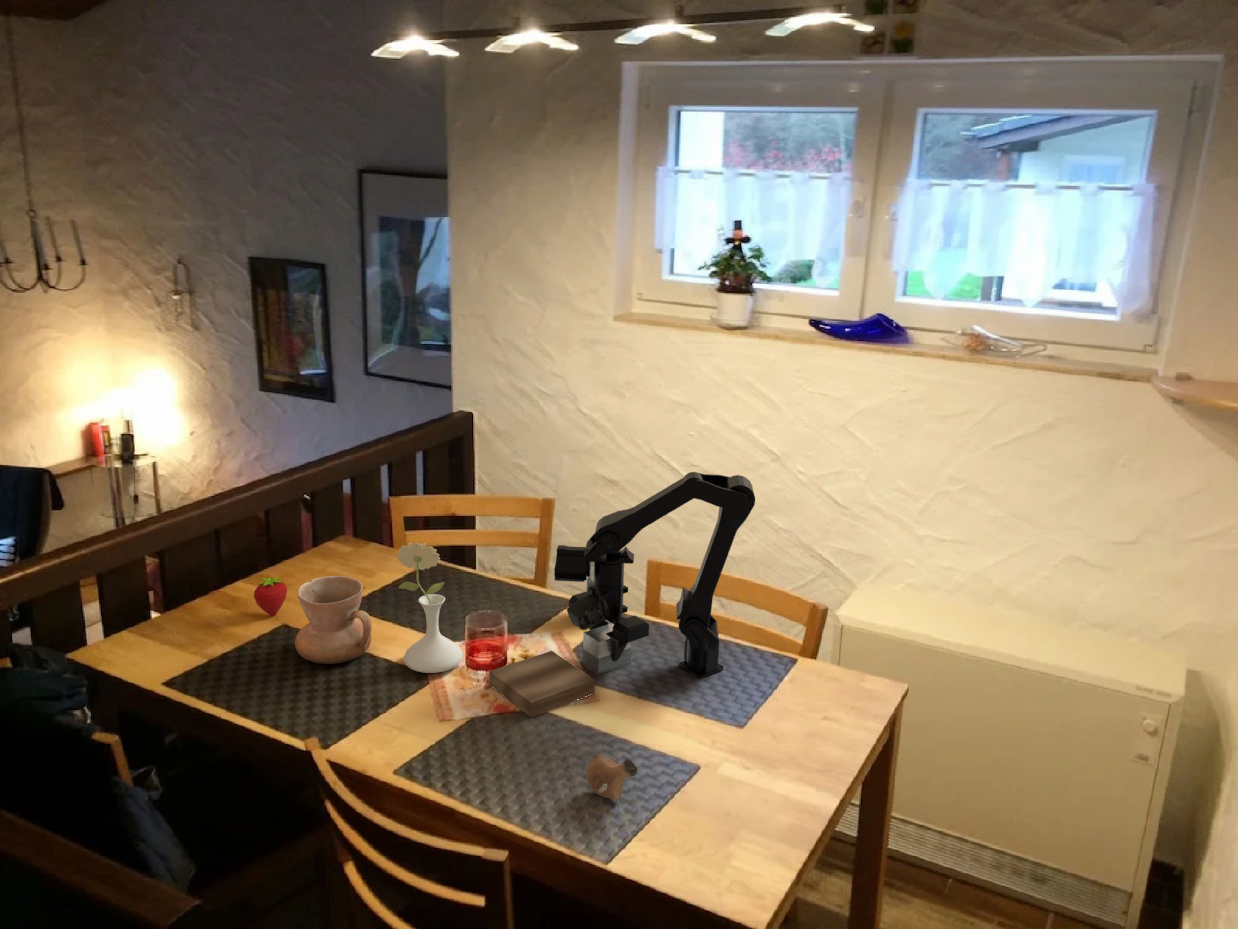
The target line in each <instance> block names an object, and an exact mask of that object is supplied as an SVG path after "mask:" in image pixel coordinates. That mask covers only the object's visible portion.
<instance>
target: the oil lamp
mask: <svg viewBox="0 0 1238 929" xmlns="http://www.w3.org/2000/svg"><path fill="white" fill-rule="evenodd" d="M591 758H592V759H591V761H590V762H589V764H588V766H587V770H586V779H587V783H588V785H589V787H590V788H591V790H592V791H593V792H594V793H595V794H597V795H598V796H599V797H602V798H607V799H610V800H615V801H619V800H621V798H622V794H623V793H622V792H623V789H624V785H625V784H624V782H625V780H626V778H629V777H635V776H636V775H637V774H638V768H637V765H635V763H633V761H632V760H631V759H630V758H626V759H625V760H624V761H622V762H620V763H616V762H615V761H614V760H612V759H611V758H609V757H606V756H603V755H602V754H601V753H598V752H596V753H594V754H593V755H592V757H591Z"/></svg>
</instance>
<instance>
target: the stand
mask: <svg viewBox="0 0 1238 929" xmlns="http://www.w3.org/2000/svg"><path fill="white" fill-rule="evenodd" d="M595 681H596V680H595V679H594V678H593V677H591V676H590V675H588V674H587V673H586V672H584V671H582V670H581V669H579V668H578V667H577V666H575V665H573V664H572V663H571V662H569V660H566V659H565V658H563V657H562V656H560V655H559V654H557V653H556V652H554V651H553V650H550V651H547V652H546V651H545V653H544V652H543V653H540V654H537V655H535V656H531V657H527V658H525V659H522V660H518V661H517V662H513V663H510V664H507V665H505V666H501V667H497V668H495V669H491V670H489V686H490V685H491V686H492V687H494V688H495V689H496V690H497V691H496V690H495V689H494V688H493V689H494V690H495V691H496V692H497V693H499V694H500V693H501V694H502V696H503V697H504V698H505V699H506V700H508V702H509V701H511V703H512V704H513V705H514V706H516V707H517V708H518V709H519V710H521V711H522V712H523V713H524V714H525V715H527V716H529V718H534V717H537V716H539V715H543V714H544V713H545V714H546V713H547V712H551V711H553V710H556V709H558V708H561V707H564V706H566V705H569V704H571V702H572V703H574V702H573V701H575V700H577V699H580V700H582V699H581V698H583V699H585V698H584V697H585V696H588V695H590V694H594V693H595V689H596V688H595V685H596V682H595ZM491 686H490V687H491ZM492 687H491V688H492ZM501 694H500V695H501ZM594 695H595V694H594ZM588 697H589V696H588ZM575 702H576V701H575Z"/></svg>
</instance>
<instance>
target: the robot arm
mask: <svg viewBox="0 0 1238 929" xmlns="http://www.w3.org/2000/svg"><path fill="white" fill-rule="evenodd" d="M753 488H754V487H753V484H752V483H751V480H750V479H748V478H747V477H745V476H744V475H741V474H737V475H731V476H726V475H724V474H709V473H706V474H705V473H701V472H696V471H691V472H688V473H686V474H685V475H684V476H683V477H682V478H680V479H678V480H677V481H675V482H673V483H672V484H669V485H668V486H667V487H665V488H664V489H662V490H659V491H658V492H656V493H655V494H653V495H652V496H650V497H648V498H647V499H645V500H644V501H641V502H640V503H638V504H636V505H635V506H633V507H629V508H626V509H623V510H622V509H620V510H617V511H615V512H612V513H609V514H607V515H604V516H602V517H601V518H600V519H598V521H597V523H596V527H595V531H594V533H593V534H592V535H591V536H590V538H589V539H588V540H587V541H586V545H585V546H568V545H564V544H559V545H557V547H556V558H555V565H554V569H553V570H554V573H553V574H554V581H556V582H574V583H575V582H580V583H585V581H587V577H590V575H591V562H594V585H591V586H589V589H588V591H587V590H586V591H584V592H580V593H576V594H572V595H571V597H570V598H569V599H568V607H567V609H566V612H567V614H568V617H569V620H570V622H571V625H573V626H574V625H575V626H576V627H577V628H579V630H581V631H586V630H588V629H589V630H592V629H595V628H599V627H602V626H605V625H608V624H611V623H613V624H614V626H613V631H611V632H608V633H606V635H607V636H609V637H610V638H611V646H612V658H613V661H614V662H615V661H618V660H619V658H620V656H621V654H622V652H623V651H624V649H625V647H626V645H627V644H628V643H629V642H631V643H632V642H634V641H637V640H639V639H640V640H641V639H644V638H645V637H646V638H647V637H649V635H650V624H649V623H648V622H647V621H645V620H644V619H641V618H640V617H638V616H636V615H632V616H630V617H625V616H623V614H625V613H628V609H629V608H628V606H626V605H625V604H624V594H627V593H629V587H628V586H627V585H625V582H624V581H625V579H624V578H625V564H629V565H630V564H631V565H632V564H634V560H635V553H633V552H632V551H630V550H629V548H628V547H627V546H626V545H628V544H630V543H631V541H632V540H634V538H635V537H636V536H637V535H638V534H639V533H640V532H641V531H642V530H644V529H645V528H646V527H648V526H649V525H651V524H653V523H655V522H656V521H659V520H660V519H662V518H663V517H665V516H667V515H669V514H670V513H672V512H674V511H675V510H676V509H679V508H680V507H682V506H684V505H685V504H688V503H689V502H690V501H693V500H694V499H695V500H698V501H699V500H700V501H702V502H706V503H707V504H710V505H712V506H715V507H718V513H717V514H718V516H717V521H716V524H715V526H714V528H713V532H712V535H711V538H710V540H709V543H708V546H707V549H706V552H705V554H704V556H703V560H702V562H701V565H700V568H699V571H698V573H697V576H696V579H695V581H694V583H693V585H692V586H691V587H690V589H687V588H685V587H682V589H681V595H680V598H679V600H678V601H677V603H676V604H675V606H676V610H675V611H676V614H675V615H676V620H678V629H679V631H680V633H681V634H682V635H683V636H685V640H684V649H683V653H684V654H683V661H680V662H678V666H679V667H680V668H682V669H684V670H685V671H687V672H689V673H690V674H692V675H693V676H695V677H697V678H699V679H701V678H704V677H707V676H710V675H713V674H715V673H717V672H720V671H723V670H724V665H723V664H721V663H719V656H720V655H719V653H720V637H719V635H720V634H719V628H718V620H717V619H716V618H715V617H713V615H712V606H713V598H714V594H715V592H716V588H717V586H718V584H719V580H720V577H721V575H722V573H723V570H724V567H725V564H726V562H727V559H728V556H729V553H730V551H731V549H732V545H733V543H734V539H735V537H736V534H737V532H738V530H739V529H740V528H741V526H742V525H743V524H744V523H745V522H746V521H747V518H748V517H749V516H750V514H751V512H752V510H753V509H754V507H755V505H756V496H755V493H754V489H753ZM589 630H588V631H589Z"/></svg>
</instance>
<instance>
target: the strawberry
mask: <svg viewBox="0 0 1238 929" xmlns="http://www.w3.org/2000/svg"><path fill="white" fill-rule="evenodd" d="M281 578H282V576H281V577H279V576H278V577H268V578H266V577H261V579H262V582H260V583H257V587H256V588H255V590H254V594H253V598H254V600H255V603H256V604H257V606H258V607H259V608H260V609H261V610H262V611H264V612H265V613H266V614H268V616H270V617H275V616H277V614H278V613H279V610H280V609H281V608H282V606H283V604H284V602H285V600H286V597H287V593H288V588H287V585H286V583H285V582H284V581H281V580H279V579H281Z"/></svg>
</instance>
